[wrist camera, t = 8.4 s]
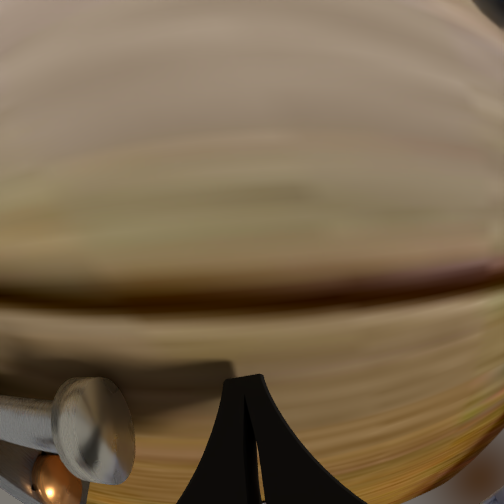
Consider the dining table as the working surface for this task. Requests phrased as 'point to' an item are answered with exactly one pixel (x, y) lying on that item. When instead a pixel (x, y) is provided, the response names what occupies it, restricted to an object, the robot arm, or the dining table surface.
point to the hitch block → (23, 472)
